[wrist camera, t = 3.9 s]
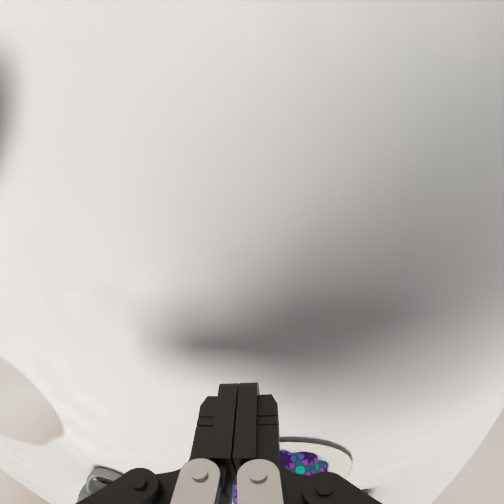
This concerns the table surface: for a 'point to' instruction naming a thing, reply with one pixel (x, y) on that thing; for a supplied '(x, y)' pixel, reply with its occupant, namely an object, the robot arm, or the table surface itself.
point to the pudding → (311, 460)
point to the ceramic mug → (97, 482)
